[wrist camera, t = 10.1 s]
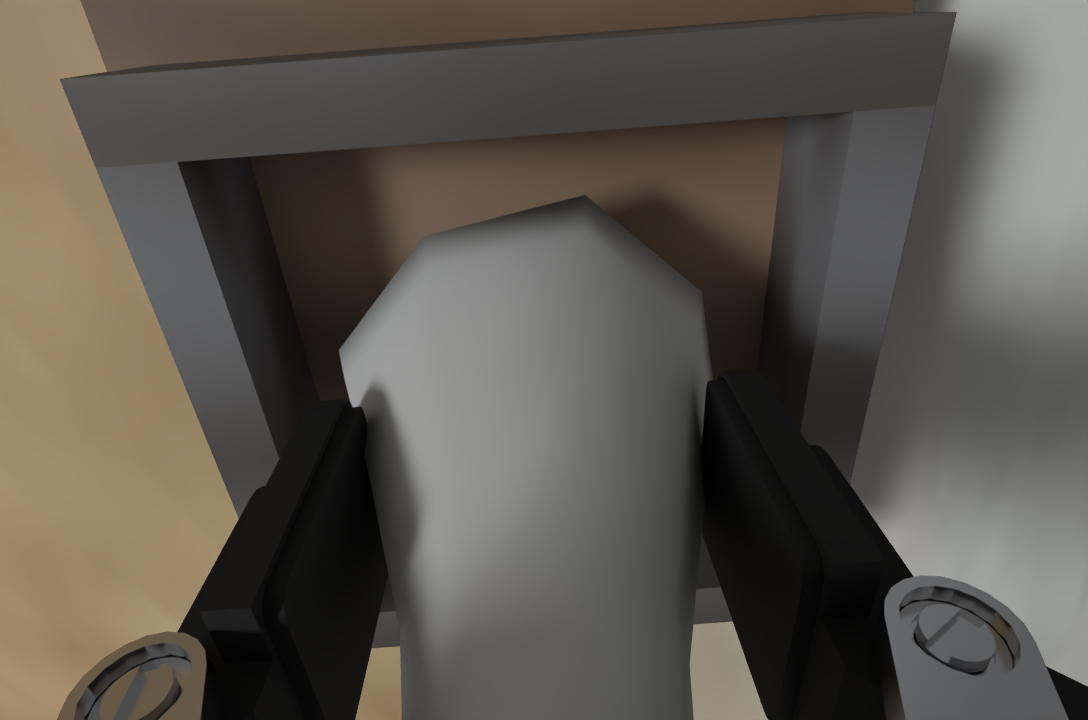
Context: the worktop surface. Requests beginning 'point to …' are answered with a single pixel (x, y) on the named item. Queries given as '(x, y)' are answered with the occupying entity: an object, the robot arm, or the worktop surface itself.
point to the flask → (537, 467)
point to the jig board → (508, 178)
